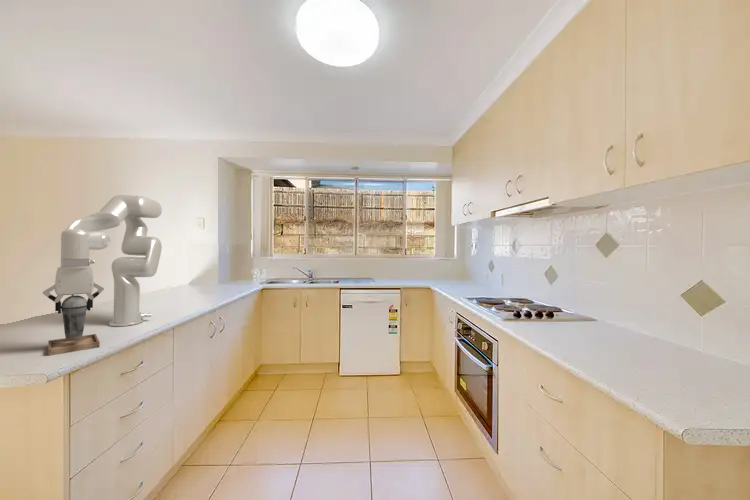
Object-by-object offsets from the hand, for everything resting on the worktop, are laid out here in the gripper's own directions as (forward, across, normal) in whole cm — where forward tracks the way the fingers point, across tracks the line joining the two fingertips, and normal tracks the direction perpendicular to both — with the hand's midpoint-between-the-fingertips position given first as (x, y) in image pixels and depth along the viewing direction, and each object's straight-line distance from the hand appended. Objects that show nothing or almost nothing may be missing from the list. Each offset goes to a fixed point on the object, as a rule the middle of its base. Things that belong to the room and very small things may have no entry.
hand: (74, 311), depth 113 cm
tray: (+13, 0, 0) cm, 13 cm away
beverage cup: (+10, 0, 0) cm, 10 cm away
